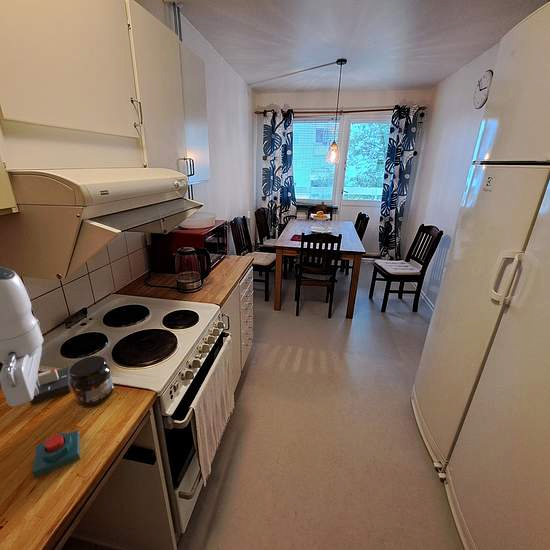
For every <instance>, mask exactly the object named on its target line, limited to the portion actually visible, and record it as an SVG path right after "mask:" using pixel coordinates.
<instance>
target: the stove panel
mask: <svg viewBox="0 0 550 550" xmlns="http://www.w3.org/2000/svg"><path fill="white" fill-rule="evenodd" d="M69 370H70V367H69V366H68V367H65V368H60V369H56V371H57V374H58V377H59V379H58V380H56V381H53V382H50V383H46V384H43V385H41V384H40V382H39V384H40V387H39V394H38V395H36V396H34V397H33V400H32V401H30V402H29V403H30V405H32V406H33V405H35V404H36V405H37V404H38V403H42V402H44V401H47V400H51V399H54V398H57V397H60V396H62V395H66V394H69V393H71V390H72V389H71V388H72V386H71V384H70V378H71V377H70V373H69ZM38 381H39V379H38Z"/></svg>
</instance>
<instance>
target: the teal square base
mask: <svg viewBox="0 0 550 550" xmlns="http://www.w3.org/2000/svg"><path fill="white" fill-rule="evenodd" d="M57 434H60V435H62V437H63V440H64V444H63V446H62V447H61V448H59V449H58V450H56V451H54V452H48V451H47V450H46V447H45V442H46V441H47V439H46V440H43V442H42V443H40V444H38V445H36V446H35V453H34V460H33V468H32V474H33V477H34V479H38V478H40V477H42V476H45V475H47V474H49V473H51V472H54V471H57V470H59V469H61V468H63V467H65V466H68V465H70V464H72V463H75V462H77V461H79V460H81V434H80V431H79V429H76V430H73V431H70V432H60V433H57ZM57 434H55V435H57Z"/></svg>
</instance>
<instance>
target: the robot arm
mask: <svg viewBox="0 0 550 550" xmlns="http://www.w3.org/2000/svg"><path fill="white" fill-rule="evenodd" d="M43 343H44V337H43V334H42V331H41V324H40V321H39V319H38V318H36V317H35V316H34V315H33V313H32V302H31V300H30V296H29V293H28V291H27V289H26V287H25V284H24V283H23V281H22V279H21V278H20V276H19V275H18V274H17V273H16V272H15V270H12V269H11V268H8V267H4V266H0V363H1V364H2V366H1V370H0V386H1V389H2V393H3V396H4V398H5V401H6V403H7V405H8V406H9V407H11V408H13V407H17V406H21V405H24V404H27V403H30V401H32V400H33V397H34V396H36V395H38V394H39V387H40V384H39V381H38V374H39V370H40V363H41V358H42V353H43Z"/></svg>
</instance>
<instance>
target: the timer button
mask: <svg viewBox="0 0 550 550" xmlns="http://www.w3.org/2000/svg"><path fill="white" fill-rule="evenodd" d="M46 440H47V441H46ZM46 440H45V441H46V442H45V447H46V450H47V451H48V452H54V451H56V450H58V449H59V448H61V447H62V446H63V444H64V440H63V437H62V435H60V434H59V433H57V435H56V434H54V435H51V436H50V437H48V438H47V439H46Z"/></svg>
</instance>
